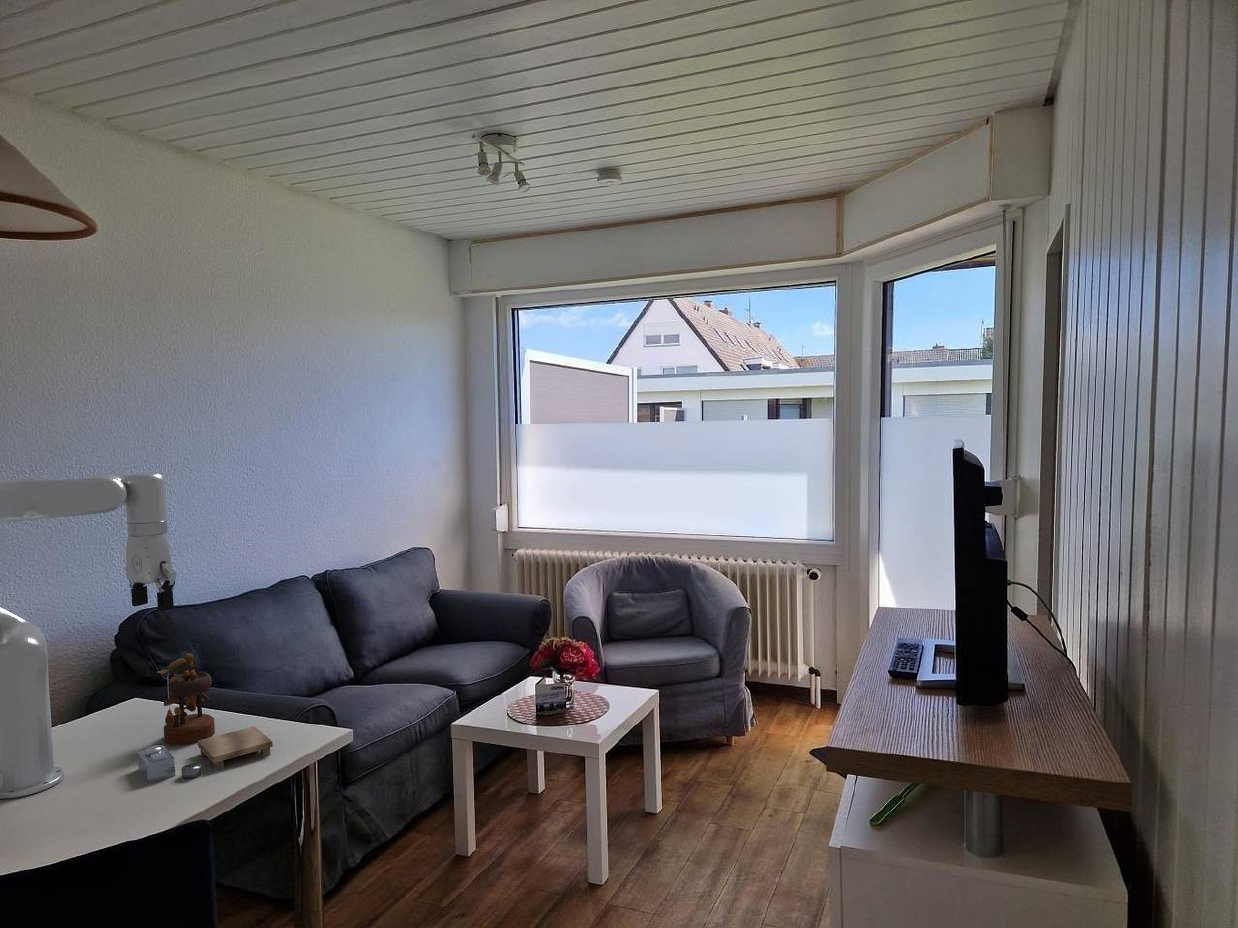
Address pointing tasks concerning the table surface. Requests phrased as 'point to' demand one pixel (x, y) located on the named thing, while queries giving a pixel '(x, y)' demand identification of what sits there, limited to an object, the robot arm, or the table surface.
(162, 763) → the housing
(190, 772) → the dark grey round piece
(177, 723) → the music box
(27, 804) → the table surface
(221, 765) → the stand
